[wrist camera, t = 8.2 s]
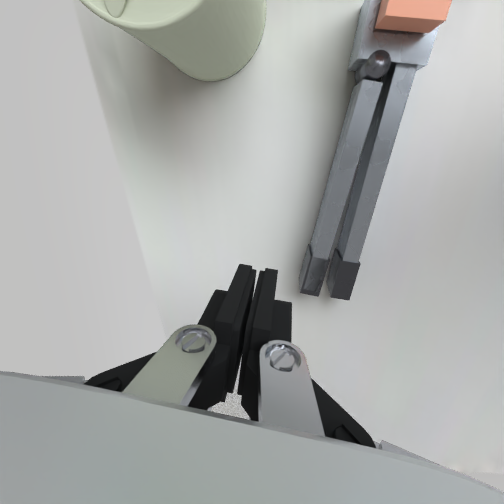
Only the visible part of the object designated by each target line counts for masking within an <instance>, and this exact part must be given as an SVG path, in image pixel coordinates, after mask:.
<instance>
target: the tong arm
mask: <svg viewBox="0 0 504 504" xmlns="http://www.w3.org/2000/svg"><path fill="white" fill-rule="evenodd" d="M382 84H383V83H382V82H376V81H370V80H364V79H363V80H362V81H360V82H359V83H358V84H357V85H356V86H354V88H353V91H352V95H351V98H350V102H349V106H348V109H347V113H346V117H345V120H344V124H343V128H342V131H341V135H340V138H339V142H338V146H337V149H336V153H335V157H334V160H333V164H332V167H331V171H330V175H329V178H328V182H327V186H326V189H325V193H324V197H323V200H322V204H321V207H320V211H319V215H318V218H317V222H316V226H315V229H314V233H313V236H312V240H311V244H310V245H308V247H307V251H306V255H305V258H304V262H303V266H302V269H301V273H300V277H299V284H300V293H304V294H308V295H313V296H319V293H320V290H321V287H322V284H323V281H324V277H325V274H326V271H327V268H328V265H329V262H330V259H329V254H330V251H331V248H332V245H333V241H334V238H335V235H336V232H337V229H338V225H339V222H340V219H341V216H342V213H343V209H344V206H345V203H346V200H347V196H348V193H349V190H350V187H351V184H352V180H353V177H354V174H355V171H356V168H357V164H358V161H359V158H360V155H361V152H362V148H363V145H364V142H365V139H366V136H367V132H368V129H369V126H370V123H371V120H372V116H373V113H374V110H375V107H376V103H377V100H378V97H379V94H380V91H381V87H382Z"/></svg>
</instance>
